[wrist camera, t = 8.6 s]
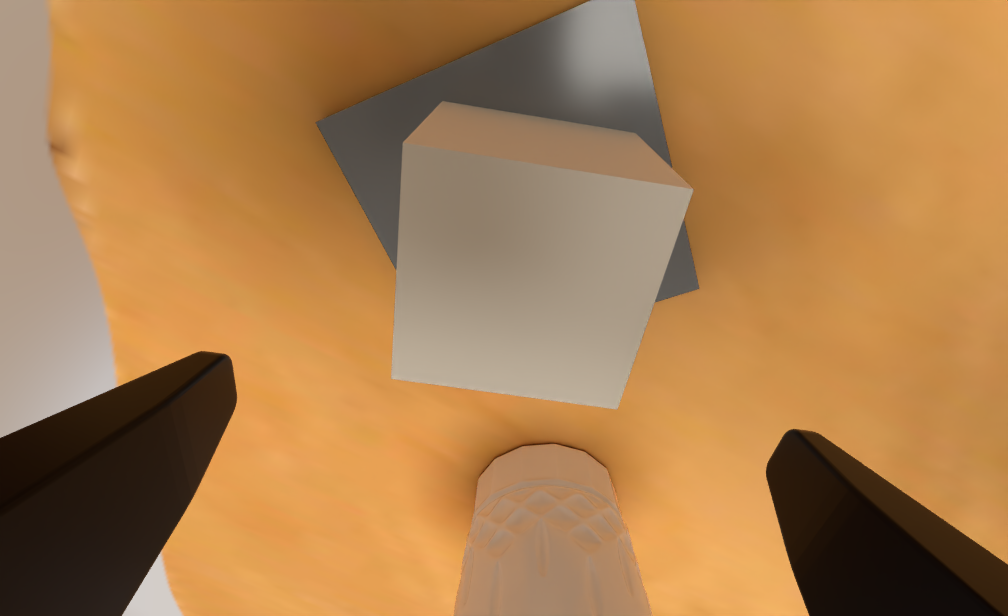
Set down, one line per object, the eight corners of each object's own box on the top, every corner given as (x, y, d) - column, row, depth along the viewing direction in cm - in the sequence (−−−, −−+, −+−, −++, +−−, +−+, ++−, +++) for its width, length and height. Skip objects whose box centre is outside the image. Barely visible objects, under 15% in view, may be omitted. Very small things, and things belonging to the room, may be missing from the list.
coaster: (694, 281, 19) (699, 288, 18) (450, 357, 21) (448, 366, 20) (626, -17, 14) (630, -18, 14) (322, 118, 16) (315, 122, 16)
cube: (635, 132, 16) (693, 189, 10) (589, 300, 18) (617, 409, 13) (442, 101, 15) (402, 142, 10) (427, 276, 18) (391, 378, 13)
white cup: (565, 560, 27) (587, 811, 19) (436, 507, 25) (394, 760, 17) (659, 474, 24) (740, 734, 15) (518, 406, 22) (518, 658, 13)
